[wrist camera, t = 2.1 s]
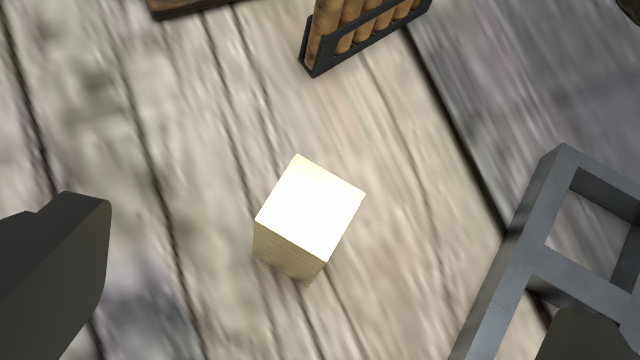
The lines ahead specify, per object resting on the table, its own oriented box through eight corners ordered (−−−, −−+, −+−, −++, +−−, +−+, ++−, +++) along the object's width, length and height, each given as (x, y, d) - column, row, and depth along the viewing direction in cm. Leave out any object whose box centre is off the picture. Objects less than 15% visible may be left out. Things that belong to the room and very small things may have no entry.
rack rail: (525, 579, 33) (551, 599, 30) (385, 494, 33) (398, 506, 31) (656, 222, 41) (686, 211, 38) (541, 158, 41) (562, 142, 38)
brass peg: (307, 287, 37) (326, 262, 28) (252, 254, 37) (254, 219, 28) (338, 233, 38) (365, 193, 29) (285, 202, 38) (296, 153, 30)
